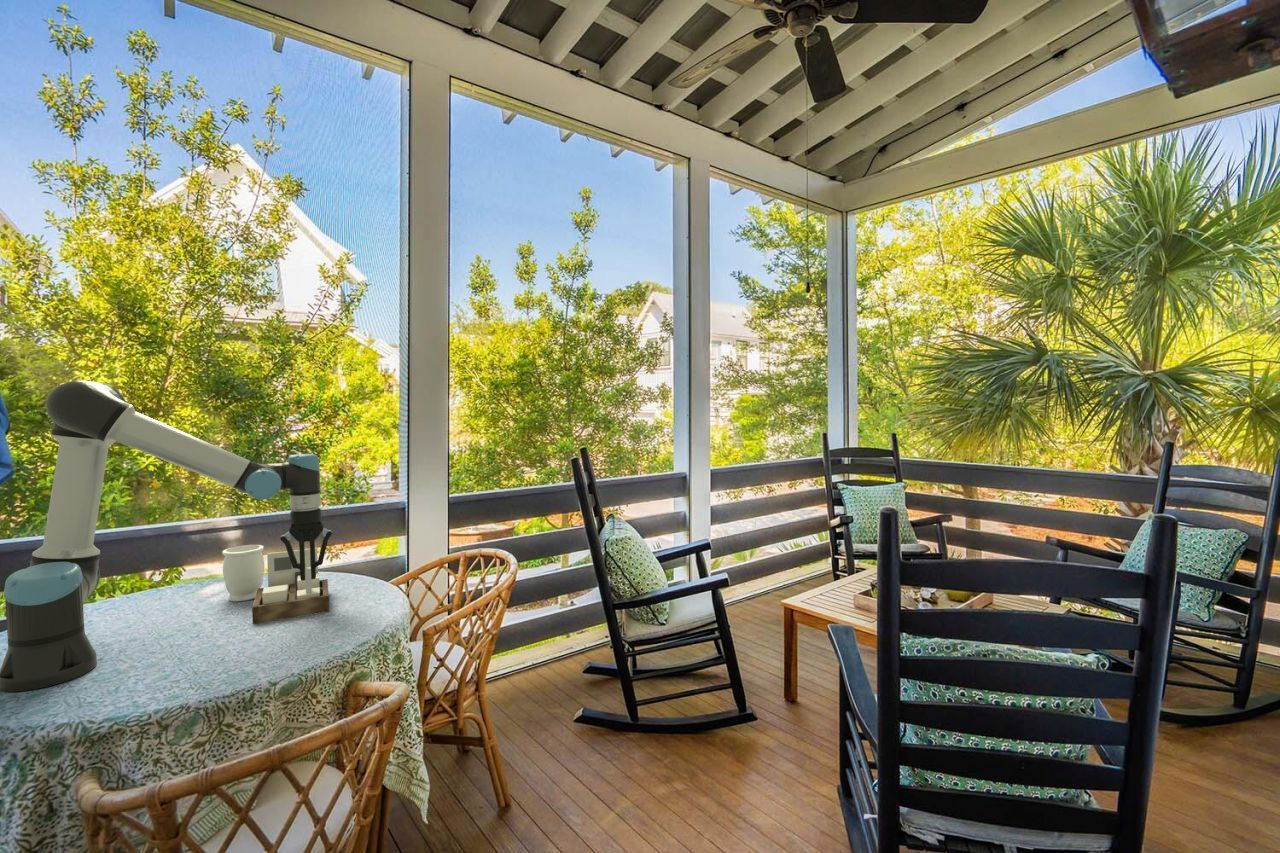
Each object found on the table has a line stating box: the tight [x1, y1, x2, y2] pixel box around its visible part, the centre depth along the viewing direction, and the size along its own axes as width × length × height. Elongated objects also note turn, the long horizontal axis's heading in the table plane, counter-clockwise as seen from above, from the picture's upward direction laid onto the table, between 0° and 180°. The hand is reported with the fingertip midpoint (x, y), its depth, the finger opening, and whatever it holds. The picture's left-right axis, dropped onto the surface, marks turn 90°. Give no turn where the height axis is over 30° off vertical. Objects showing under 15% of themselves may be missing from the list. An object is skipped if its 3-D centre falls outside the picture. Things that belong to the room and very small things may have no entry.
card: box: [266, 547, 319, 587], centre depth 176 cm, size 13×1×14 cm, turn 119°
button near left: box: [262, 585, 288, 604], centre depth 161 cm, size 6×6×4 cm
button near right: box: [297, 587, 320, 599], centre depth 165 cm, size 6×6×4 cm
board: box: [251, 578, 330, 625], centre depth 167 cm, size 18×18×4 cm
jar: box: [222, 544, 265, 602], centre depth 176 cm, size 11×10×15 cm
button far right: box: [297, 572, 320, 590], centre depth 172 cm, size 6×6×4 cm
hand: (308, 590), depth 165 cm, fingers closed
